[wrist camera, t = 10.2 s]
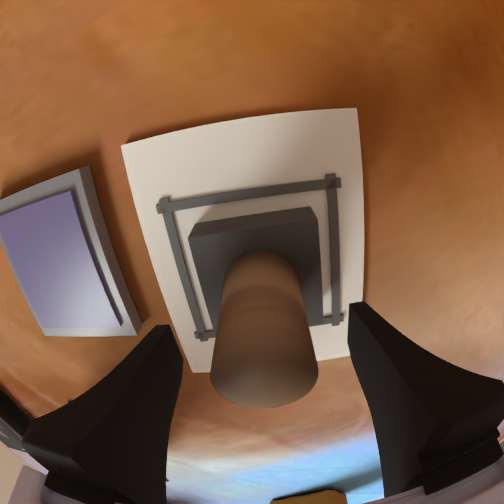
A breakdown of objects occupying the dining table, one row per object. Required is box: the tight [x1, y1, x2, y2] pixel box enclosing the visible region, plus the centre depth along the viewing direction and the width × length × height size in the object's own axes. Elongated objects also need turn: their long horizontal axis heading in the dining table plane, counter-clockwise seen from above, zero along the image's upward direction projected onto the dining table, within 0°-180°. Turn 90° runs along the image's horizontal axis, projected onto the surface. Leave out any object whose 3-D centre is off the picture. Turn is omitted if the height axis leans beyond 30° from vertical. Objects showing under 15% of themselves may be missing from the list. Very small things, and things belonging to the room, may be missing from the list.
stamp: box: [188, 206, 324, 408], centre depth 13 cm, size 6×6×8 cm
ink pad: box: [0, 165, 142, 336], centre depth 16 cm, size 11×9×2 cm
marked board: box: [121, 108, 364, 373], centre depth 17 cm, size 16×12×1 cm
